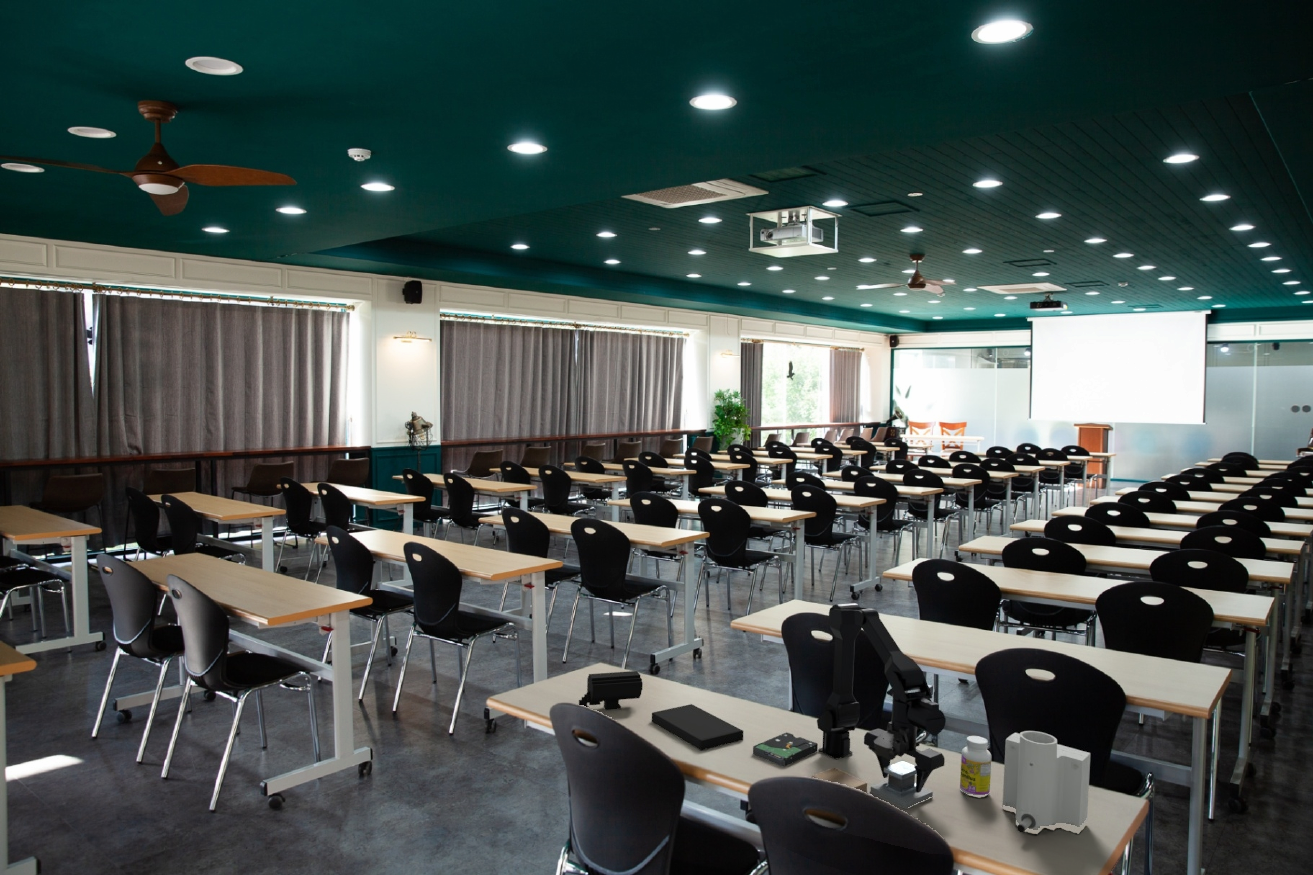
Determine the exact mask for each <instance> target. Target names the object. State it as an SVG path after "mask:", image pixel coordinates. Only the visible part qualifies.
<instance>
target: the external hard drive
mask: <svg viewBox="0 0 1313 875" xmlns="http://www.w3.org/2000/svg"><path fill="white" fill-rule="evenodd" d="M651 723H653V724H654V725H656V726H658V727H660V728H661V729H663V730H664V731H666V732H669V733H670V734H672V735H673V736H675V737H677V738H679V739H681V740H682V741H684V742H685V743H687V744H689V745H691V746H692V747H695V749H697V750H699V751H706V750H710V749H713V748H717V747H720V746H725V745H729V744H732V743H736V742H740V741H743V740H744V730H743V729H740V728H739V727H737V726H735V725H733V724H731V723H729V722H727V721H726V720H723V719H721V718H719V717H717V716H716V715H714V714H712V713H710V712H707V711H706V710H704V709H703V708H700V707H698V706H696V705H695V704H692V703H690V704H687V705H682V706H677V707H672V708H667V709H663V710H658V711H654V712H652V713H651Z"/></svg>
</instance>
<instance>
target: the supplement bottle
mask: <svg viewBox="0 0 1313 875" xmlns="http://www.w3.org/2000/svg"><path fill="white" fill-rule="evenodd" d="M988 747H989V742H988V739H987V738H985V737H982V736H978V735H969V736H967V737H966V746H965V747H963V748H962V749H961V759H960V762H961V763H960V778H959V789H961V790H962V791H963V792H965V793H967V794H973V795H985V794H988V793H989V792H991V791H990V790H991V776H992V772H991V770H992V754H991V752H990V751H989V750H988V749H987V748H988ZM961 790H960V791H961ZM962 791H961V792H962ZM963 792H962V793H963ZM989 794H990V793H989Z"/></svg>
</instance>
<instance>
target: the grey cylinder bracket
mask: <svg viewBox="0 0 1313 875" xmlns="http://www.w3.org/2000/svg"><path fill="white" fill-rule="evenodd" d="M1004 753H1005V754H1004V767H1003V768H1004V769H1003V770H1004V771H1003V788H1002V806H1003V805H1005V806H1010V807H1013V808H1015V809H1016V814H1015V817H1014V818H1016V820H1017V822H1018V823H1019V825H1018V826H1017V827H1016V829H1017V831H1018V832H1019V833H1022V834H1023V833H1024V831H1025V830H1026V829H1027V828H1029V829H1033V830H1038V828H1040V826H1049V825H1055V824H1056V823H1066V824H1071V825H1075V826H1077V827H1080V825H1082V823H1084V821H1085V820H1086V818H1087V819H1088V806H1089V789H1090V787H1089V786H1090V769H1091V768H1090V767H1091V752H1087V751H1083V750H1080V749H1077V748H1074V747H1069V746H1065V745H1063V744H1060V743H1059V744H1058V739H1057V738H1056V737H1055V736H1053V735H1051V734H1048V733H1046V732H1042V731H1035V730H1024V731H1021V732H1020V733H1018V732H1014V733H1012V734H1010V735H1009V736H1008V737H1006V739H1005V747H1004Z"/></svg>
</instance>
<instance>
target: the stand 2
mask: <svg viewBox="0 0 1313 875" xmlns="http://www.w3.org/2000/svg"><path fill="white" fill-rule="evenodd" d="M886 783H888V779H885V780H883V781H880V782H878V783H876V784H874V785H870V788H869V789H870V790H869V791H870V792H869V793H870V794H872V795H875V796H877V797H879V798H881V799H883V800H885V801H887V802H889V803H892V804H893V805H896V806H898V807H900V808H902V809H904V810H908V809H909V808H908V807H910V806H912V805H914V804H916V803H918V802H921V801H923V800H926V799H928V798H929V797H932V796H933V793H934V792H933V791H932V790H930V789H927V788H925V787H923V788H922V790H921V792H919V793H917V792H916V791H914V792H912V793H909V794H907V795H904V796H902V797H900V796H898V795H896V794H893V793H891V792H889V791H887V790H885V789H883V784H886ZM932 798H933V797H932Z"/></svg>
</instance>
